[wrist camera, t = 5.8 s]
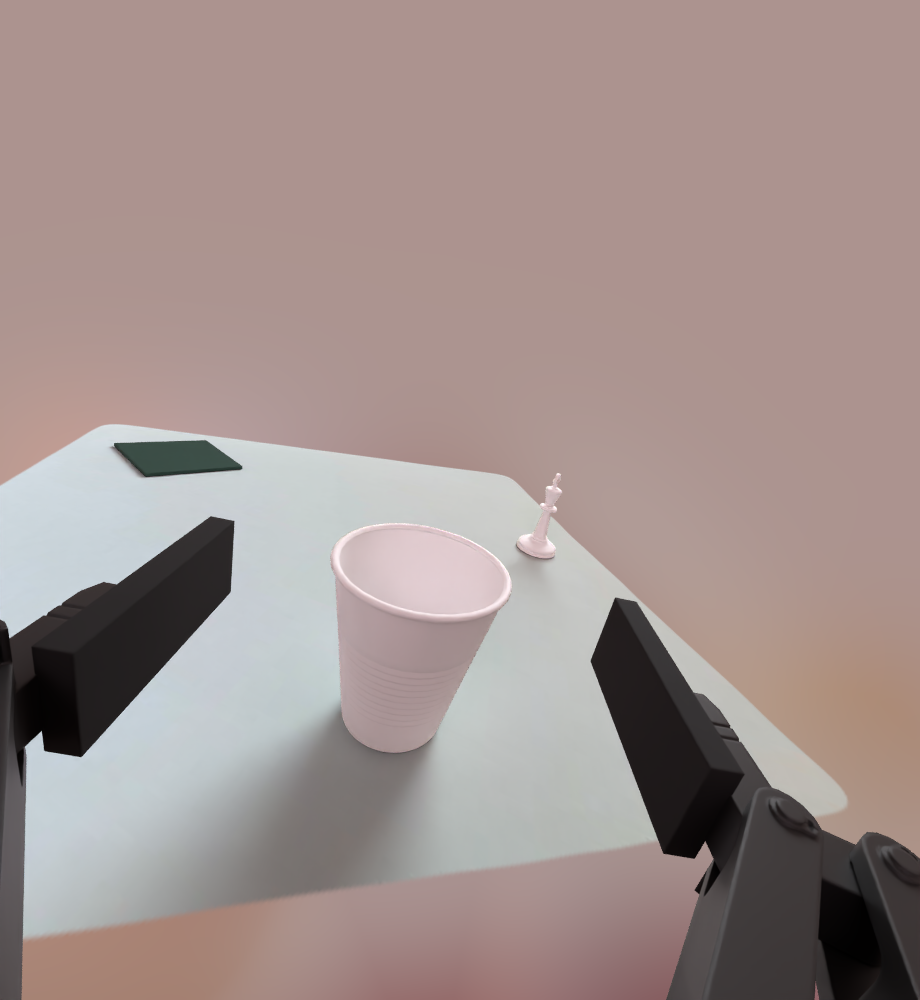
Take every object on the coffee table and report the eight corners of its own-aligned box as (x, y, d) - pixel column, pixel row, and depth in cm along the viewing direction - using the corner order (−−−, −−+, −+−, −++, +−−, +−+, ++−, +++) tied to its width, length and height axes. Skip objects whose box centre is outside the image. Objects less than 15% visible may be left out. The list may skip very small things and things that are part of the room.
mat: (145, 476, 52) (145, 473, 52) (114, 446, 58) (114, 443, 58) (242, 469, 60) (242, 466, 60) (206, 442, 67) (206, 440, 66)
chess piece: (559, 550, 59) (584, 477, 55) (547, 563, 54) (572, 484, 51) (525, 535, 61) (546, 464, 57) (510, 546, 56) (532, 470, 53)
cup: (342, 821, 22) (377, 636, 19) (288, 679, 30) (306, 527, 26) (498, 751, 28) (550, 600, 24) (421, 647, 35) (451, 518, 32)
